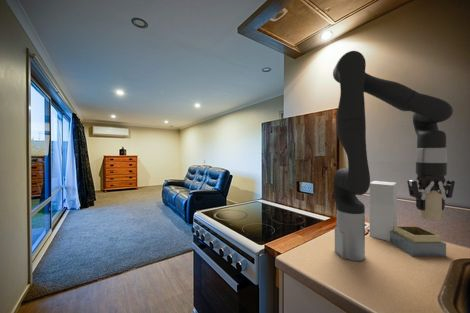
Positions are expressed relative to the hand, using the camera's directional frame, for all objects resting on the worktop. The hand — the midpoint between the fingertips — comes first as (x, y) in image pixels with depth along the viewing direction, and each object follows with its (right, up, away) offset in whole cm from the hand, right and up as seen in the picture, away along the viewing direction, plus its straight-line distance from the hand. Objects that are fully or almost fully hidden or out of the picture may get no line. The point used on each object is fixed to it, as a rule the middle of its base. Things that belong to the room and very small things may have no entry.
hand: (430, 209), depth 66 cm
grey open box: (+5, -19, +10) cm, 22 cm away
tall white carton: (+1, -19, +22) cm, 29 cm away
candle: (0, -3, 0) cm, 3 cm away
